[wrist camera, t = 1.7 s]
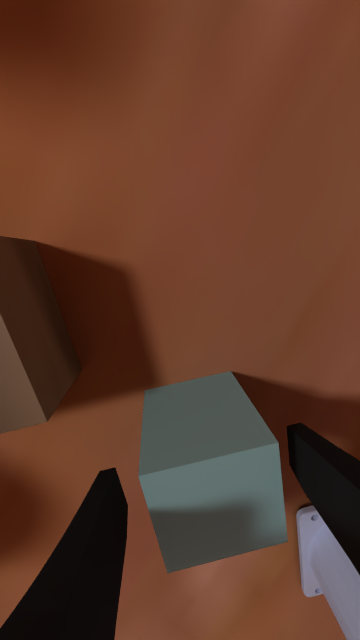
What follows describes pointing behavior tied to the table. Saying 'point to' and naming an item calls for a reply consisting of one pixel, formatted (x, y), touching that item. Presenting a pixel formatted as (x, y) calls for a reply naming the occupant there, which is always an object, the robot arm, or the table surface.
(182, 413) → the teal block
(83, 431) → the table surface
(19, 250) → the walnut base block
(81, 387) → the table surface
